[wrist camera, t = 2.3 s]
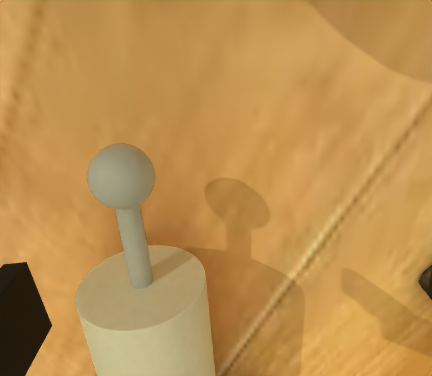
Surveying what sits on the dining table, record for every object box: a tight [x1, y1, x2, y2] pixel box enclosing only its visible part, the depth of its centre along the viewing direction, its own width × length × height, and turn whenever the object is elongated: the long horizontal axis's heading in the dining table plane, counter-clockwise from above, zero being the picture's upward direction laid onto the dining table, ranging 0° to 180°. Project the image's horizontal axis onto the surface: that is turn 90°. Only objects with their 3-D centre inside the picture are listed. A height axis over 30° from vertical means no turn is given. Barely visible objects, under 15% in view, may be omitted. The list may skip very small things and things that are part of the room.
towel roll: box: [75, 144, 216, 376], centre depth 27 cm, size 14×14×31 cm
